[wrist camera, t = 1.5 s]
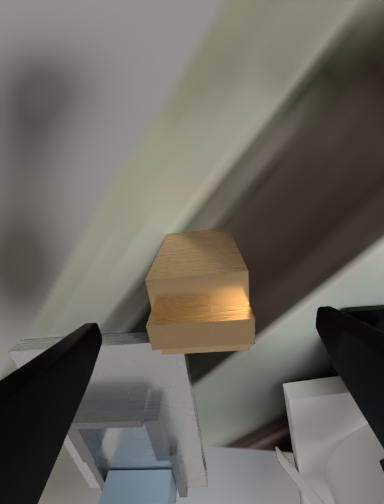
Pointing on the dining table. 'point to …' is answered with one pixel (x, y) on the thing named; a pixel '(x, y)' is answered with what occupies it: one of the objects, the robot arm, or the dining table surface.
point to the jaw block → (199, 295)
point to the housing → (139, 487)
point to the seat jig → (133, 412)
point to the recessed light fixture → (331, 445)
